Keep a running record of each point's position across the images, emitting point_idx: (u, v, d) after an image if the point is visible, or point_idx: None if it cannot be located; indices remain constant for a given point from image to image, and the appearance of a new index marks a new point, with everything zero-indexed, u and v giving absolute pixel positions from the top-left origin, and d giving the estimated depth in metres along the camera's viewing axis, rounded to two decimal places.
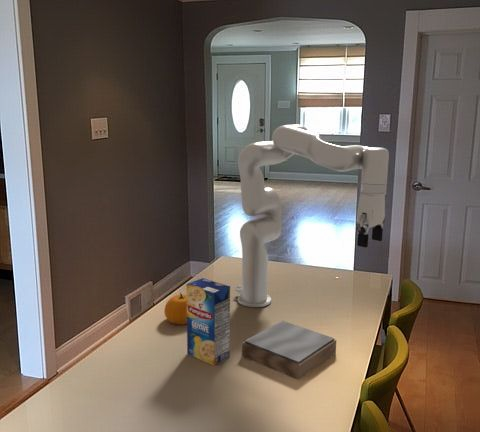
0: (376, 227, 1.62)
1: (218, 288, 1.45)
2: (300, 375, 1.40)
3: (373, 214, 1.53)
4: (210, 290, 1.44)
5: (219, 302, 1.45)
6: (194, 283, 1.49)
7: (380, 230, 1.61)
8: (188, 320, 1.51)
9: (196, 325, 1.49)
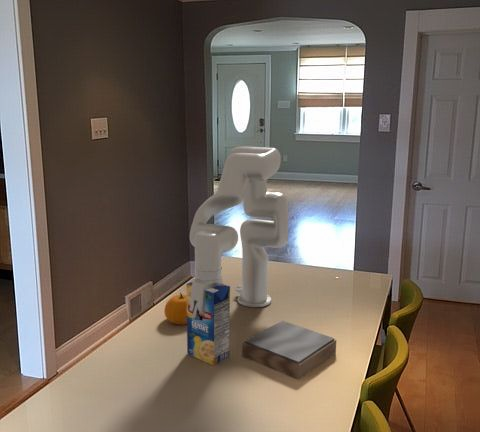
0: None
1: (218, 288, 1.45)
2: (300, 375, 1.40)
3: (204, 302, 1.44)
4: (209, 290, 1.44)
5: (219, 302, 1.44)
6: None
7: None
8: (188, 319, 1.51)
9: (196, 324, 1.49)
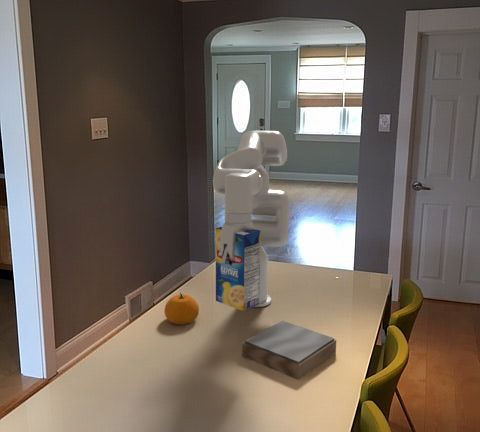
0: None
1: (249, 232, 1.42)
2: (300, 375, 1.40)
3: (234, 246, 1.41)
4: (240, 233, 1.40)
5: (249, 245, 1.41)
6: None
7: None
8: (217, 265, 1.48)
9: (225, 270, 1.46)
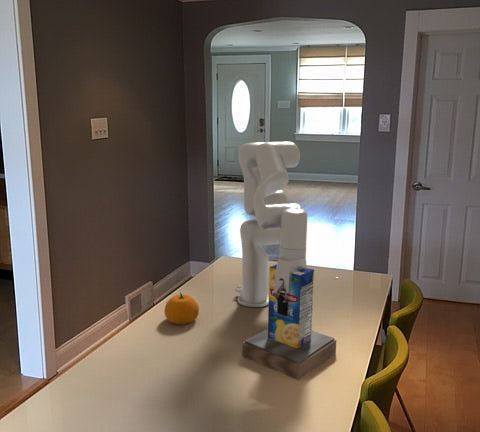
0: None
1: (303, 271, 1.45)
2: (300, 375, 1.40)
3: (290, 280, 1.44)
4: (295, 273, 1.44)
5: (305, 284, 1.44)
6: None
7: None
8: (270, 303, 1.50)
9: None
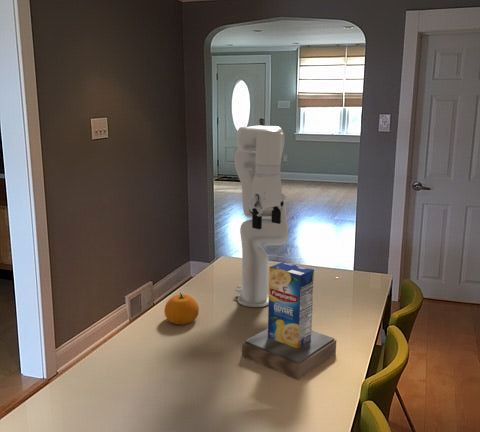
0: (275, 210, 1.61)
1: (303, 271, 1.45)
2: (300, 375, 1.40)
3: (265, 196, 1.52)
4: (295, 273, 1.44)
5: (304, 284, 1.44)
6: (277, 266, 1.49)
7: (278, 213, 1.61)
8: (270, 303, 1.50)
9: (279, 308, 1.49)
